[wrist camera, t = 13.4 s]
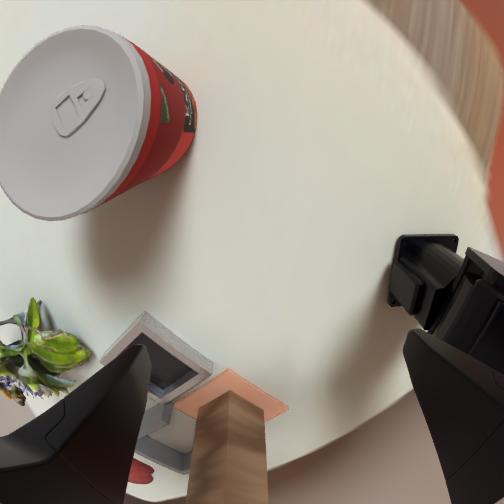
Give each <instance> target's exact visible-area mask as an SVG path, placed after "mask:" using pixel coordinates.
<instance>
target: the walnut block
mask: <svg viewBox="0 0 504 504" xmlns="http://www.w3.org/2000/svg"><path fill="white" fill-rule="evenodd" d="M186 504H269V502H268V483H267V463H266V444H265V425H264V410H263V409H261V408H259V407H258V406H256V405H254V404H252V403H251V402H249V401H247V400H246V399H244V398H242V397H241V396H239V395H237V394H236V393H234V392H233V391H231V390H229V391H227V392H226V393H224V394H222V395H221V396H219V397H217V398H215V399H214V400H212V401H210V402H208V403H207V404H205V405H203V406H201V407H199V408H198V415H197V422H196V429H195V436H194V443H193V451H192V458H191V466H190V474H189V482H188V490H187V498H186Z"/></svg>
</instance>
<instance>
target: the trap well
mask: <svg viewBox="0 0 504 504" xmlns="http://www.w3.org/2000/svg"><path fill="white" fill-rule="evenodd" d="M133 344H143V345H145V346H146V348H147V352H148V355H149V358H150V361H151V375H150V381H149V388H148V395H147V396H148V397H150V398H151V399H153V400H154V401H156V402H158V403H159V404H161V405H164V404H166V403H167V402H169V401H171V400H172V399H174V398H175V397H177V396H179V395H180V394H182V393H183V392H185V391H186V390H188V389H190V388H191V387H193V386H194V385H196V384H197V383H199V382H200V381H202V380H203V379H205V378H207V377H208V376H210V375H211V374H212V367H213V363H212V362H211V361H210V360H208V359H207V358H205V357H204V356H203V355H201V354H200V353H198V352H197V351H196V350H194V349H193V348H192V347H190V346H189V345H187V344H186V343H185V342H183V341H182V340H181V339H179V338H178V337H177V336H176V335H174V334H173V333H172V332H170V331H169V330H168V329H166V328H165V327H164V326H163V325H161V324H160V323H159V322H158V321H156V320H155V319H154V318H153V317H151V316H150V315H149V314H148V313H147V312H145V311H144V312H143V313H142V314H141V315H140V316H139V317H138V318H137V319H136V320H135V322H134V323H133V324H132V325H131V326H130V327H129V328H128V329H127V330H126V331H125V332H124V333H123V334H122V335H121V336H120V337H119V338H118V339H117V340H116V341H115V342H114V343H113V344H112V345H111V346H110V347H109V348H108V350H107V351H106V352H105V353H104V355H103V356H102V358H101V360H100V363H101V364H102V365H104V366H106V365H107V364H108V363H109V362H111V361H112V360H113V359H115V358H116V357H117V356H118V355H120V354H121V353H122V352H124V351H125V350H126V349H127V348H129V347H130V346H131V345H133Z"/></svg>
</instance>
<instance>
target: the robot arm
mask: <svg viewBox="0 0 504 504" xmlns="http://www.w3.org/2000/svg"><path fill="white" fill-rule="evenodd" d="M405 239H406V241H405V243H403V241H404V240H405ZM453 239H454V241H453ZM458 241H459V239H458V236H456V235H455V234H419V235H402V236H400V238H399V240H398V245H397V252H396V258H395V261H394V263H393V268H392V274H391V279H390V284H389V289H390V290H389V295H388V300H387V302H388V304H389V305H390V306H391V307H395V306H403V307H404V308H405V310H406V311H407V312H408V314H409V315H410V316H411V315H414V317H415V318H416V319H417V321H418V322H419V323H420V325H421V326H422V327H423V329H424V330H428V332H425V331H424V330H422V329H413V330H410V331H409V332H408V335H407V338H406V341H405V344H404V347H403V355H404V358H405V361H406V364H407V368H408V371H409V375H410V378H411V382H412V385H413V388H414V391H415V393H416V395H417V398H418V401H419V404H420V406H421V409H422V411H423V414H424V417H425V419H426V422H427V425H428V428H429V431H430V433H431V436H432V439H433V442H434V445H435V448H436V451H437V454H438V457H439V460H440V463H441V467H442V470H443V474H444V477H445V480H446V485H447V488H448V492H449V496H450V499H451V503H452V504H504V263H503V262H502V261H500V260H498V259H496V258H493V257H491V256H489V255H487V254H484V253H482V252H480V251H477V250H475V249H472V248H470V247H468V248H467V250H466V253H465V254H466V256H465V259H463V258H462V257H460V256H459V255H458V254H456V251H457V246H458ZM394 299H395V300H394ZM393 300H394V301H393ZM392 301H393V302H392ZM150 375H151V361H150V358H149V355H148V352H147V348H146V346H145V345H143V344H133V345H131V346H130V347H129V348H127V349H126V350H125V351H124V352H122V353H121V354H120V355H118V356H117V357H116V358H115V359H113V360H112V361H111V362H109V363H108V364H107V365H106V366H104V367H103V368H102V369H100V370H99V371H98V372H96V373H95V374H94V375H93V376H91V377H90V378H89V379H87V380H86V381H85V382H84V383H82V384H81V385H80V386H78V387H77V388H76V389H75V390H73V391H72V392H71V393H69V394H68V395H67V396H66V397H64V399H62V400H60V401H59V402H58V403H56V404H55V405H54V406H52V407H51V408H50V409H48V410H47V411H46V412H44V413H43V414H41V415H39V416H38V417H36V418H35V419H33V420H32V421H30V422H29V423H27V424H25V425H24V426H22V427H20V428H19V429H17V430H16V431H14V432H12V433H10V434H9V435H6V436H3V437H0V504H123V503H124V497H125V493H126V488H127V483H128V478H129V474H130V469H131V465H132V460H133V456H134V452H135V447H136V443H137V439H138V435H139V431H140V427H141V423H142V419H143V415H144V412H145V407H146V402H147V395H148V388H149V381H150Z"/></svg>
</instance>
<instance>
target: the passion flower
mask: <svg viewBox="0 0 504 504" xmlns="http://www.w3.org/2000/svg"><path fill="white" fill-rule="evenodd" d="M41 302H42V301H41V300H40V301H38V302H37V303H36V301H35V299H34V298H31V300H30V303H29V307H28V308H27V309H26V310H25V311H23V312H22V313H20V314H17V315H14V316H13V317H12V318H10V319H8V320H5V321H1V322H0V325H4V324H7V323H12V324H16V325H18V326H19V327H20V328H21V334H22V340H18V341H16V342H14V343H12V344H9V345H5V344H3V343H2V342H1V341H0V381H2V380H5V383H1V382H0V390H1V391H2V392H3V394H4V395H5V396H6V397H7V398H8V399H11V398H14V399H15V400H16V402H17V403H19V404H20V405H21V406H24V405H25V403H24V402H25V399H26V397H25V396H24V395H23V392H24V391H26V393H27V390H28V391H29V392H30V393H31V394H32V395H34V396H35V397H36V396H37V395H38V396H40V397H41V396H42V395H43V394H44V395H46V396H47V397H49V396H51V395H52V394H51V392H53V393H54V394H55V395H57V396H59V391H62V392H64V393H65V394H66V395H68V394H69V393H68V390H67V388H66V387H71V386H73V385H74V384H75V383H76V380H74V381H72V380H66V379H62V378H58V377H59V375H60V372H64V371H66V370H70V369H72V368H74V367H76V366H77V365H83V364H84V363H86V362H87V361H88V358H89V356H90V354H91V352H90V350H89V349H88V348H86V347H85V346H82V345H81V344H80V343H79V340H78V339H77V338H76V337H75V336H73V335H71V334H69V333H66V332H62V331H61V330H57V331H39V330H38V329H37V328H38V327H39V318H40V316H39V311H38V307H37V305H38V304H39V303H41ZM24 326H25V328H26V331H25V329H24ZM12 382H13V385H12V386H11V385H9V384H10V383H12ZM16 386H18V387H19V388H18V387H16ZM58 390H59V391H58ZM18 395H19V396H20V397H19V396H18ZM27 396H28V393H27ZM33 398H34V397H33ZM41 398H42V397H41ZM42 399H43V398H42Z"/></svg>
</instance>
